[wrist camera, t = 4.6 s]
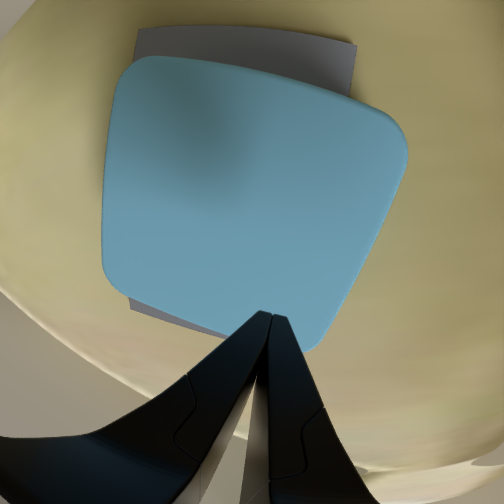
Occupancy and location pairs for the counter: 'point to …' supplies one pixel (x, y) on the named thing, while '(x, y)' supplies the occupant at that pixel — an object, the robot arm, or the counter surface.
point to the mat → (253, 57)
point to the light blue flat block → (242, 193)
